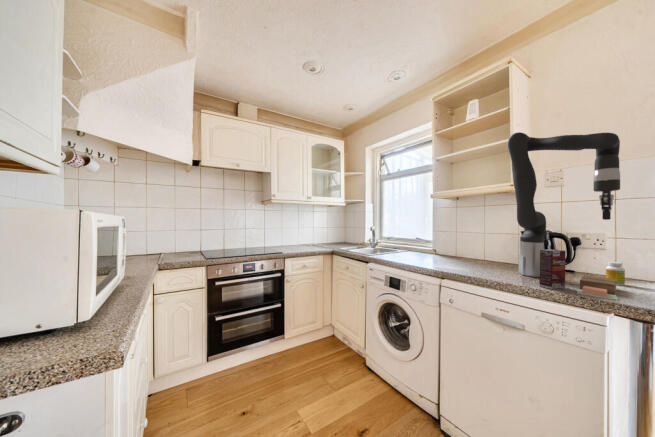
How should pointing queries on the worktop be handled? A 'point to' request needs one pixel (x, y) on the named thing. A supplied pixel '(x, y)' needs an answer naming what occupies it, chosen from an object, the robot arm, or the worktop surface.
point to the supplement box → (552, 268)
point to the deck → (599, 283)
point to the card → (594, 291)
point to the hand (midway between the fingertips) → (606, 219)
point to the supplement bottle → (616, 272)
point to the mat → (599, 296)
